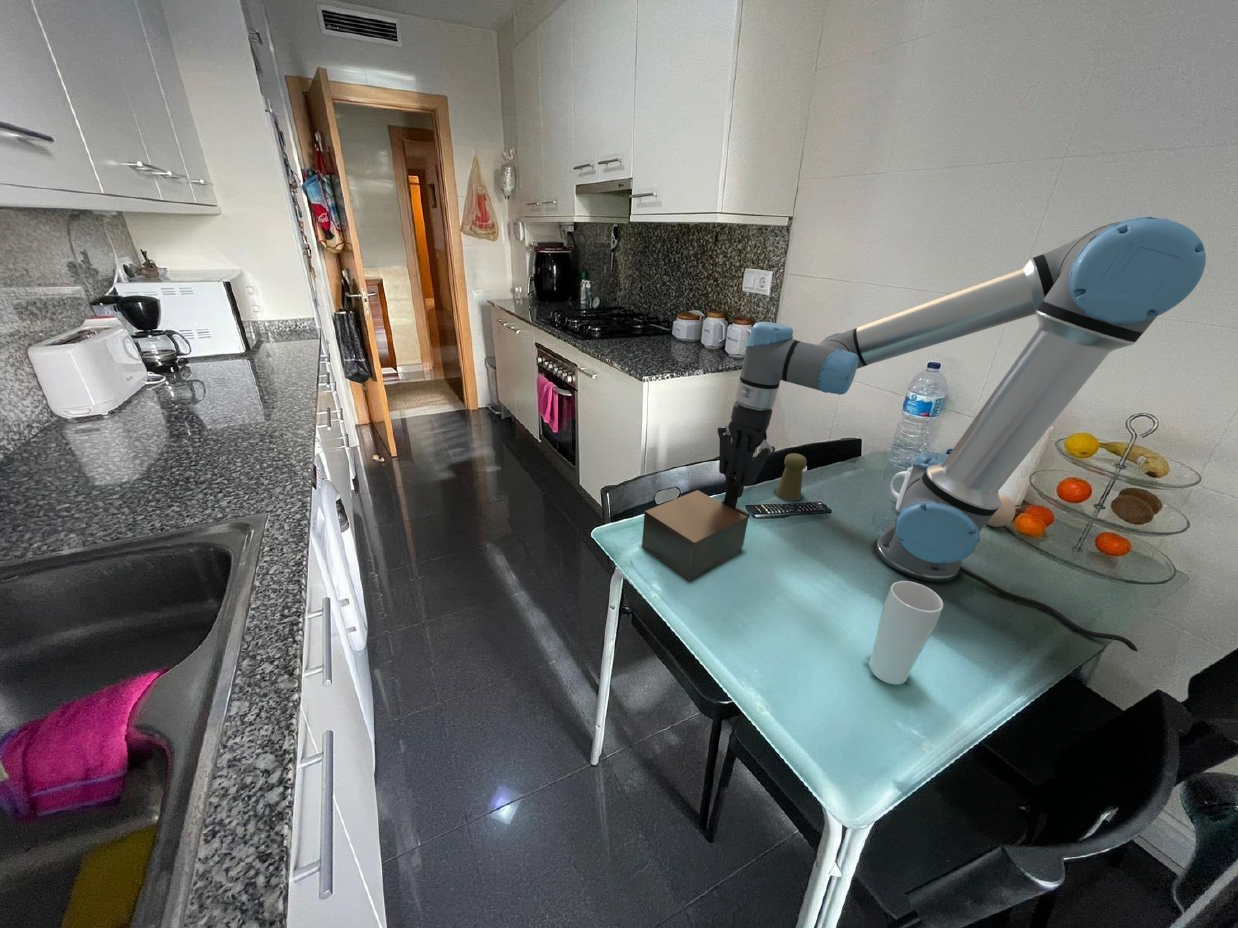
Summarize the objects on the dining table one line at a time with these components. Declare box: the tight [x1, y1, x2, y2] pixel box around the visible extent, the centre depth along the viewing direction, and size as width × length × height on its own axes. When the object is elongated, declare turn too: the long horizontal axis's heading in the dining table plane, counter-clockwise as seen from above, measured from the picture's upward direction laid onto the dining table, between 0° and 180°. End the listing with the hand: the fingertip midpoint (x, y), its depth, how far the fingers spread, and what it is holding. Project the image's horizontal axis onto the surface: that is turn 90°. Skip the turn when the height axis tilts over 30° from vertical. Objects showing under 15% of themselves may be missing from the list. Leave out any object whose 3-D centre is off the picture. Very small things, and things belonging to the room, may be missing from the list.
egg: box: [985, 494, 1016, 528], centre depth 116 cm, size 7×7×8 cm
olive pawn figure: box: [775, 452, 808, 502], centre depth 125 cm, size 6×6×11 cm
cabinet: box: [641, 489, 749, 582], centre depth 101 cm, size 16×14×9 cm
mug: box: [890, 466, 913, 513], centre depth 120 cm, size 9×12×11 cm
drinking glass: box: [868, 580, 944, 686], centre depth 73 cm, size 7×7×15 cm
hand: (728, 507), depth 108 cm, fingers closed
